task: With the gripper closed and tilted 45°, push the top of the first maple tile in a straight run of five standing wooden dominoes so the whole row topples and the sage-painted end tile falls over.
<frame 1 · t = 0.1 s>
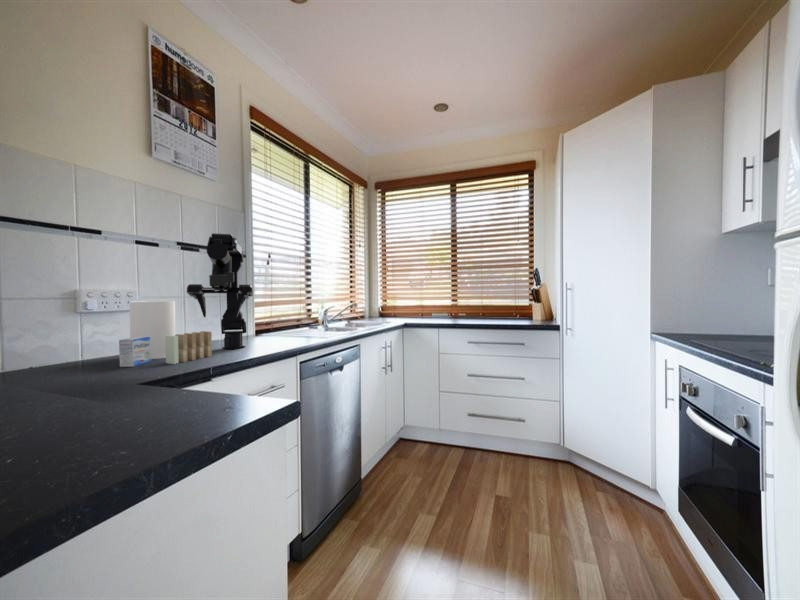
hand: (220, 316, 114), 15 cm above the countertop, tool pointing down, fingers open, 9 cm apart
tile 3: (189, 359, 123), on the countertop
tile 2: (198, 357, 126), on the countertop
medicine box: (135, 365, 115), on the countertop
tile 5: (172, 363, 117), on the countertop
tile 4: (181, 361, 120), on the countertop
tile 1: (206, 356, 129), on the countertop
canister: (153, 356, 129), on the countertop
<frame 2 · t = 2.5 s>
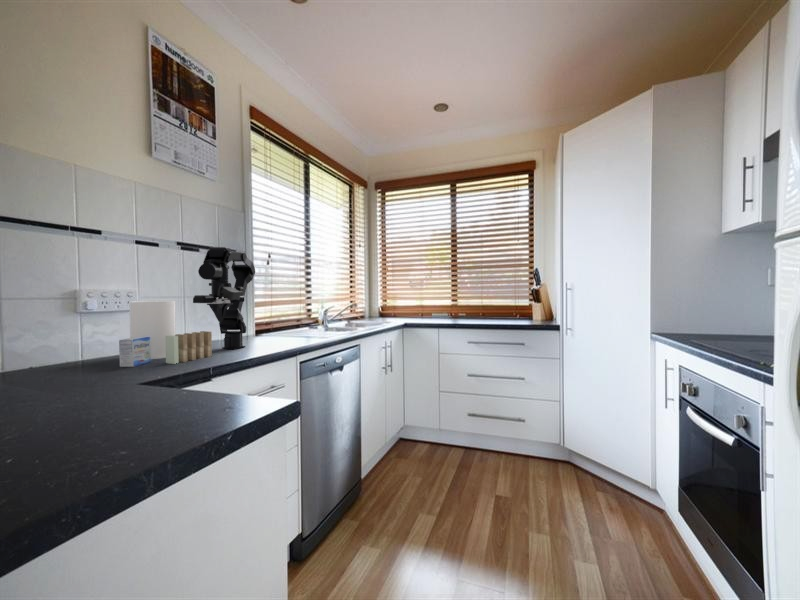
hand: (220, 321, 135), 12 cm above the countertop, tool pointing down, fingers closed
nothing on the countertop moved.
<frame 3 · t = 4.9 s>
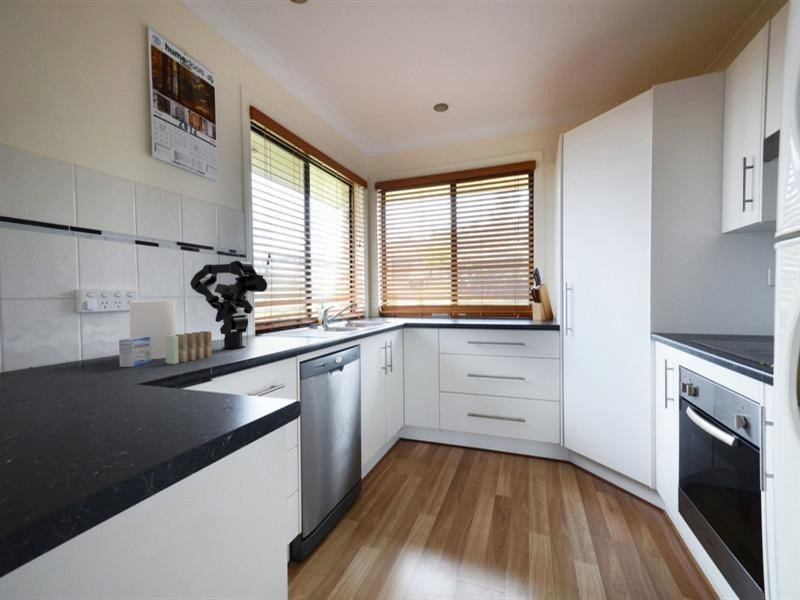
hand: (216, 321, 133), 12 cm above the countertop, tool tilted 40°, fingers closed
nothing on the countertop moved.
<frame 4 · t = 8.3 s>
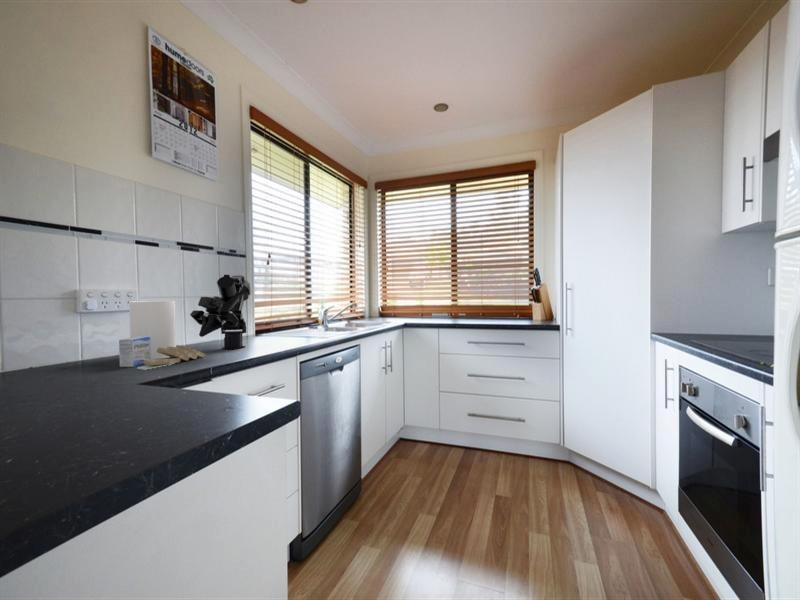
hand: (200, 336, 127), 8 cm above the countertop, tool tilted 45°, fingers closed
tile 3: (184, 358, 121), point 1 cm above the countertop, tilted 63°, touching tile 2, tile 4
tile 2: (192, 356, 124), point 1 cm above the countertop, tilted 63°, touching tile 1, tile 3
tile 5: (170, 364, 116), on the countertop, tilted 90°, touching tile 4
tile 4: (175, 359, 118), point 1 cm above the countertop, tilted 85°, touching tile 3, tile 5
tile 1: (200, 355, 127), point 1 cm above the countertop, tilted 64°, touching tile 2
everything else where it was.
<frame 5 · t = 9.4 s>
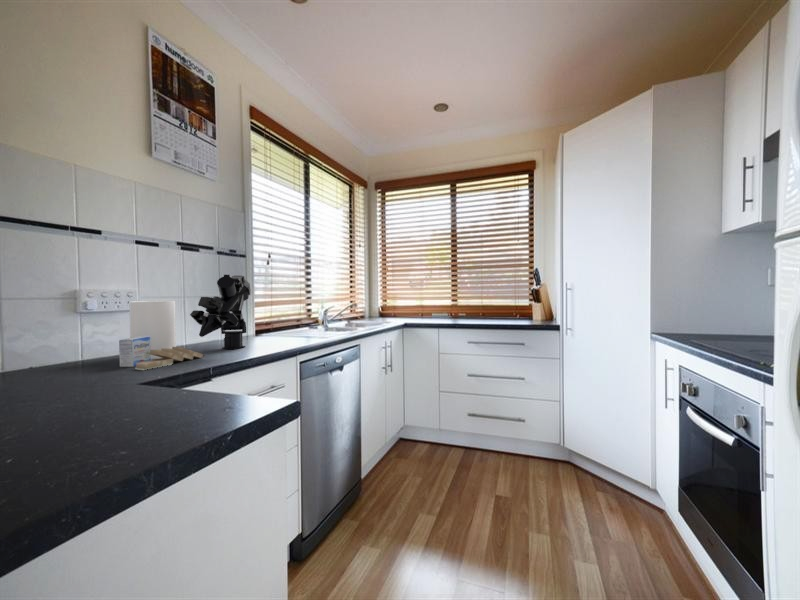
hand: (200, 336, 127), 8 cm above the countertop, tool tilted 45°, fingers closed
tile 3: (178, 359, 119), point 1 cm above the countertop, tilted 66°, touching tile 4
tile 2: (189, 357, 123), point 1 cm above the countertop, tilted 66°
tile 4: (168, 360, 116), point 1 cm above the countertop, tilted 90°, touching tile 3, tile 5
tile 1: (198, 355, 127), point 1 cm above the countertop, tilted 66°
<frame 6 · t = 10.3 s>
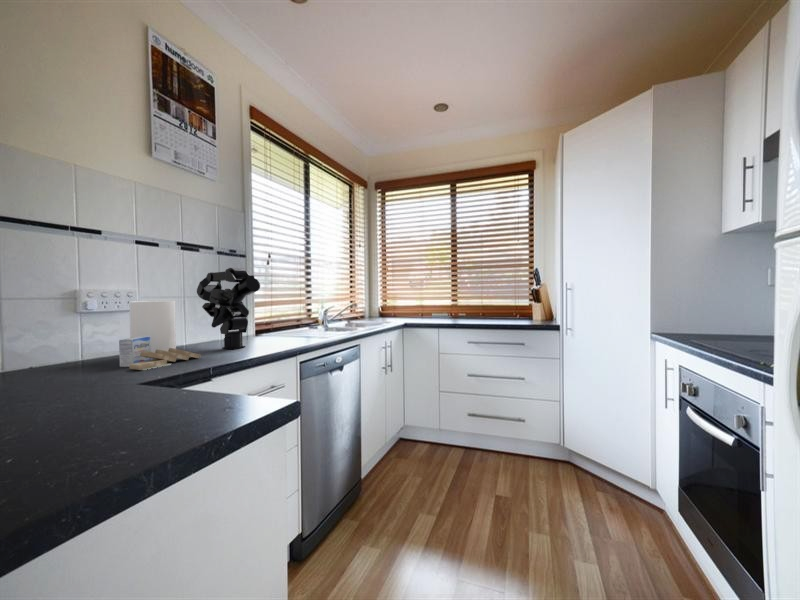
hand: (212, 326, 132), 10 cm above the countertop, tool tilted 45°, fingers closed
tile 3: (172, 359, 118), point 1 cm above the countertop, tilted 69°, touching tile 2, tile 4
tile 2: (186, 357, 122), point 1 cm above the countertop, tilted 69°, touching tile 1, tile 3
tile 5: (167, 365, 116), on the countertop, tilted 89°
tile 4: (162, 361, 114), point 1 cm above the countertop, tilted 89°, touching tile 3
tile 1: (197, 356, 126), point 1 cm above the countertop, tilted 69°, touching tile 2
everything else where it was.
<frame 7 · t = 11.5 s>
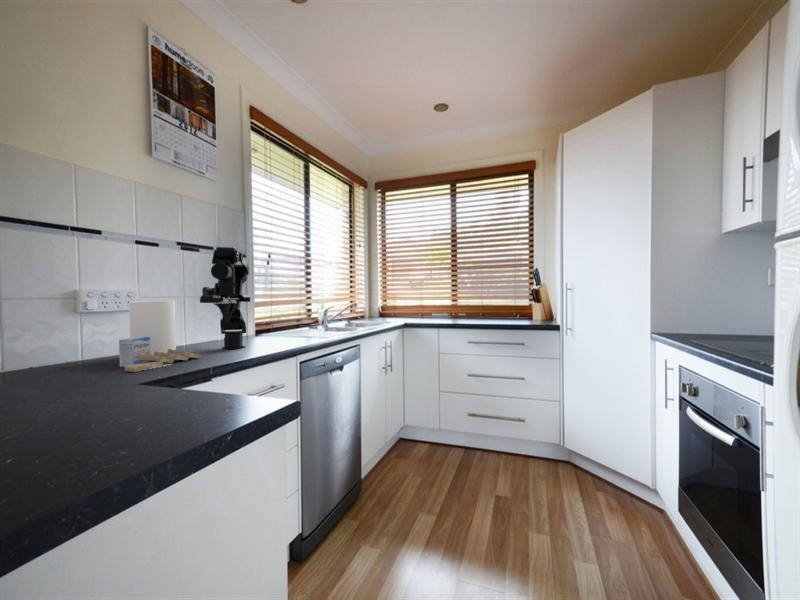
hand: (226, 321, 135), 12 cm above the countertop, tool pointing down, fingers closed
tile 5: (167, 365, 115), on the countertop, tilted 90°, touching tile 4
tile 4: (157, 363, 113), point 1 cm above the countertop, tilted 90°, touching tile 3, tile 5
tile 1: (196, 355, 126), point 1 cm above the countertop, tilted 73°, touching tile 2
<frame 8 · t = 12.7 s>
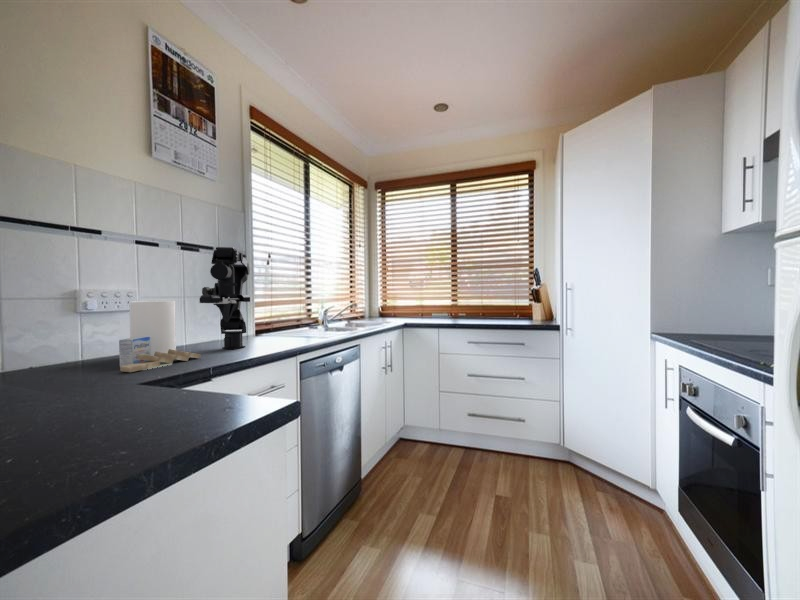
hand: (226, 321, 135), 12 cm above the countertop, tool pointing down, fingers closed
tile 3: (170, 360, 117), point 1 cm above the countertop, tilted 73°, touching tile 4
tile 2: (185, 358, 122), point 1 cm above the countertop, tilted 72°, touching tile 1
tile 4: (154, 363, 112), point 1 cm above the countertop, tilted 90°, touching tile 3, tile 5
at the end: tile 5 tilted 90°; tile 3 tilted 72° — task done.
